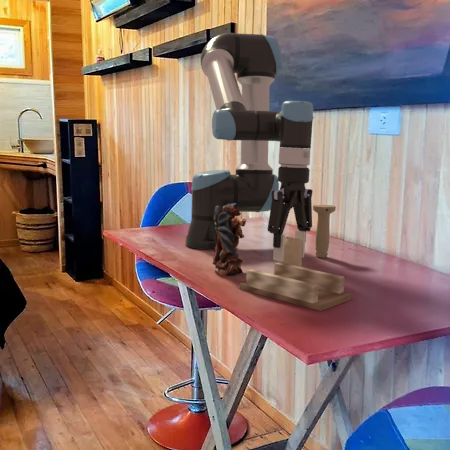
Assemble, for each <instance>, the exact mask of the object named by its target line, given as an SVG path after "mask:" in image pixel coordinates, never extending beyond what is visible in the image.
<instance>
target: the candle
mask: <svg viewBox="0 0 450 450" xmlns="http://www.w3.org/2000/svg"><path fill="white" fill-rule="evenodd" d="M302 258H303V257H302V242H301V241H300V240H299V239H298V238H295V237H291V236H290V237H289V236H285V247H284V261H283V262H281V261H278V263H279V262H280V263H285V264H289V265H294V266H298V267H302V264H303V263H302V262H303V261H302Z"/></svg>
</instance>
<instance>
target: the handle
mask: <svg viewBox="0 0 450 450" xmlns="http://www.w3.org/2000/svg"><path fill="white" fill-rule="evenodd" d="M336 207H337V206H336V205H333V204H332V205H331V204H329V205H328V204H314V205H312V210H313V212H315V213H317V223H316V231H315V251H316V252H315V256H316V257H317V258H319V257H320V259H321V258H322V259H324V258H328V252H329V248H330V247H329V246H330V233H331V231H330V225H331V224H330V217H331V214H332V213H335V211H336Z"/></svg>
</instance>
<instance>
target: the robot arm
mask: <svg viewBox="0 0 450 450" xmlns="http://www.w3.org/2000/svg"><path fill="white" fill-rule="evenodd" d="M281 50H282V49H281V46H280V44H279V41H278V39H277V38H276V37H275V36H272V35H267V34H262V33H261V34H259V33H256V34H253V33H234V32H225V33H220V34H217V35H216V36H214V37H213V38H211V39H210V40H209V41H208V42H207V43H206V45H205V46H204V48H203V49H202V51H201V55H200V66H201V70H202V72H203V75H205V77H207V79H208V84H209V87H210V90H211V95H212V98H213V101H214V106H215V109H216V110H214V111H213V112H212V118H211V133H212V136H213V137H214V138H215V139H216V140H223V141H229V142H230V141H240V162H239V163H240V164H239V165H238V166H236V168H235V174H231V171H230V170H229V169H215V170H214V169H213V170H206V171H201V172H198V173H195V174H194V175H193V176H192V180H191V181H192V182H191V188H190V189H191V219H190V220H191V221H190V224H189V227H188V230H187V235H186V236H185V246H186V247H188V248H190V249H191V248H192V249H197V250H207V251H209V250H211V251H213V250H214V251H215V247H216V244H217V243H216V238H215V237H216V232H215V227H216V226H215V221H214V211H215V208H216V207H215V206H220V207H221V210H222V212H223V206H225V205H228V204H229V203H230V204H232V203H237V205H236V207H237V208H238V209H239V210H238V211H239V212H240V213H244V212H245V213H248V212H249V213H260V212H261V213H263V212H269V218H268V225H267V232H269V233H270V234H272V235H273V239H272V240H273V241H272V247H273V254H272V261H277V262H279V261H281V262H283V261H284V247H285V237H286V234H285V233H284V231H285V228H286V224H287V221H288V218H289V214H290V211H291V209H293V213H294V218H295V221H296V222H295V223H296V226H297V229H295V230H294V238H298V239H299V240H300V241H301V242H302V258H305V252H306V251H305V248H306V241H307V239H306V238H307V232H311V228H312V227H313V211H312V210H313V205H312V197H313V189H308V188H306V186H305V185H306V184H307V183H309V181H310V172H311V171H310V169H309V167H308V166H310V165H311V164H310V163H311V149H312V148H311V147H312V146H311V145H312V138H313V137H312V133H313V123H314V122H313V121H314V106H313V103H312V102H310V101H305V100H286V101H284V102H282V104H281V110H280V111H276V110H275V111H273V110H270V86H271V84H272V83H274V81H275V80H276V79H275V76H278V75H279V74H280V72H281V71H282V70H281V69H282V62H283V60H282V59H283V57H282V51H281ZM235 74H236V75H235ZM239 84H240V85H241V90H240V87H239ZM269 142H279V151H278V164H279V165H280V166H279V167H278V170H277V171H278V172H277V175H276V174H273V173H274V172H273V171H274V168H272V167H271V166H270V165H269ZM279 182H280V183H279Z"/></svg>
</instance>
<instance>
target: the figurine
mask: <svg viewBox="0 0 450 450" xmlns="http://www.w3.org/2000/svg"><path fill="white" fill-rule="evenodd" d="M236 205H237V203H232V204H230V203H229V204H228V205H225V206H223V212H222V210H221V207H220V206H215V207H216V208H215V211H214V221H215V226H216V227H215V232H216V237H215V238H216V243H217V244H216V247H215V250H214V251H215V253H214V254H215V255H214V257H213V260H212V265H214V266H215V267H214V273H216V274H218V275H220V276H230V277H232V276H233V277H234V276H236V275H240V274H243V273H244V272H243V269H242V267H241V266H242V265H243V264H244V263H245V260H244V259H243V258H240V255H239V254H238V251H237V247H238V246H239V244H240V239H244V238H245V234H243V230H242V227H245V226H246V223H247V219H246V218H240V219H239V218H238V217H240V216H241V214H242V212H239V211H238V210H239V209H238V208H237V207H236Z"/></svg>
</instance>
